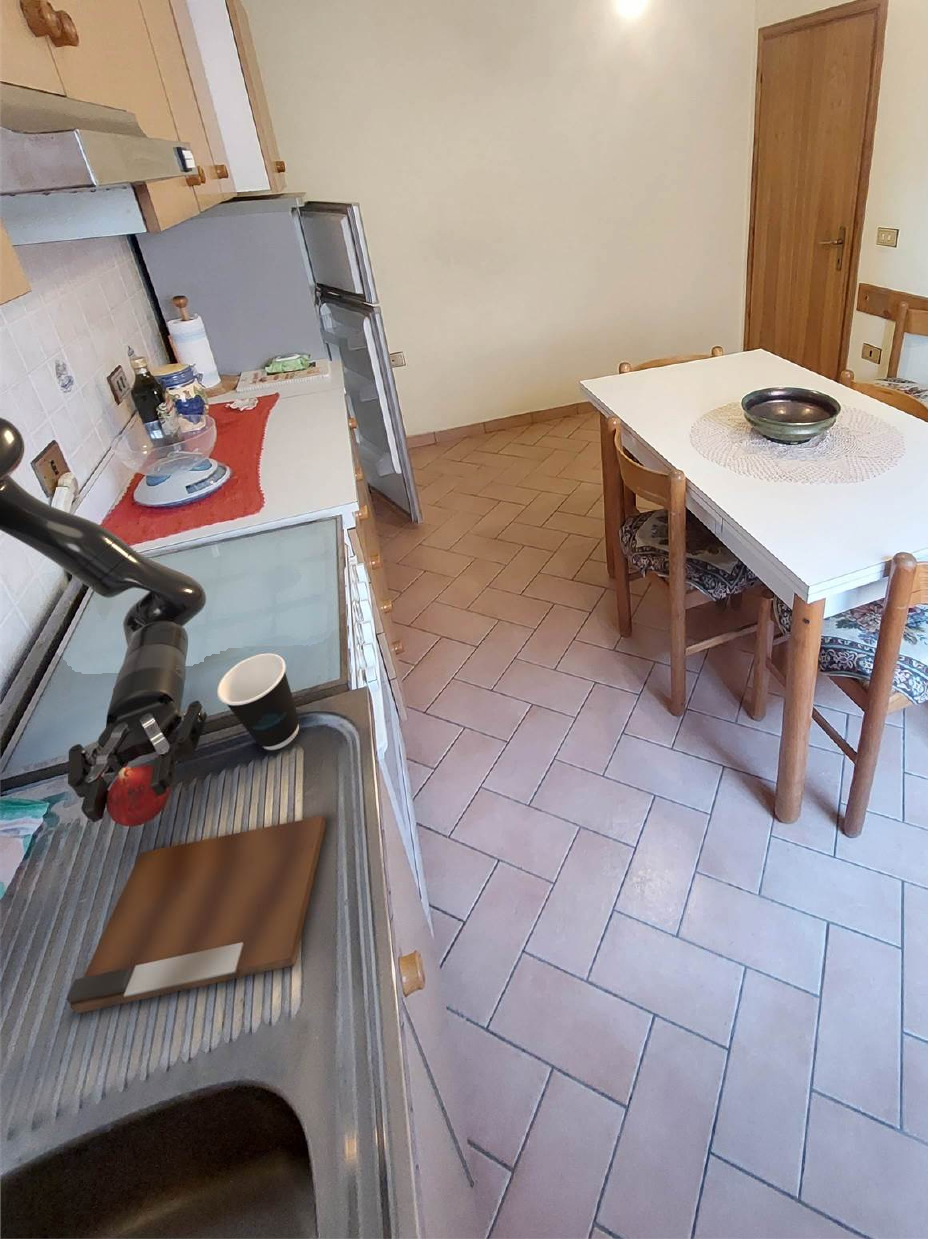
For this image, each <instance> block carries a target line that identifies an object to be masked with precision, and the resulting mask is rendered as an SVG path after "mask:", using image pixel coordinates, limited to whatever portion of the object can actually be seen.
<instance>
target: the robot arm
mask: <svg viewBox="0 0 928 1239" xmlns="http://www.w3.org/2000/svg"><path fill="white" fill-rule="evenodd" d="M24 455H25V441H24V438H23V436H22V433H21V431H20V430H19V428H17V427H16V425H14V424H13V422H11V421H9V420H7V419H5V418H3V417H0V531H1V532H4V534H7V535H9V536H11V537H13V538H14V539H15V540H18V541H20V542H21V543H23V544H25V545H27V546H28V547H29V548H32V549H34V550H35V551H37V552H39V553H40V554H42V555H43V556H45V557H46V558H48V559H49V560H51V561H53V562H54V563H55V564H57V565H58V566H60V567H61V568H62V569H63V570H65V571H66V572H67V573H69V574H70V575H72V576H73V577H74V578H76V579H77V580H79V581H80V582H81V583H82V584H84V585H85V586H86V587H88V588H90V589H91V590H92V591H94V592H95V593H96V594H98V595H99V596H101V597H103V598H106V599H112V598H115V597H117V596H119V595H122V594H123V593H125V592H127V591H129V590H132V589H140V590H144V591H147V593H146V594H145V595H144V596H142V597H141V598H140V599H139V600H138V601H136V603H134V604H133V605H132V606H131V607H130V608H129V610H128V611H127V613H126V615H125V617H124V619H123V624H122V628H123V632H124V636H125V642H126V645H127V648H126V652H125V655H124V660H123V663H122V665H121V667H120V669H119V672H118V674H117V677H116V680H115V684H114V686H113V689H112V695H111V699H110V702H109V705H108V709H107V713H106V720H105V721H106V722H105V724H106V725H105V728H104V730H103V731H102V733H101V734H100V735H99V736H98V739H97V740H96V741H94V742H92V743H89V744H87V745H86V746H84V747H83V746H82V744H81V743H78V744H75V745H73V746H72V747H71V748H70V749H69V750H68V760H67V761H68V763H67V764H68V766H67V784H68V786H69V787H70V788H72V789H73V791H74V792H75V794H76V796H77V797H78V798H80V799H81V798H83V800H82V804H81V811H82V813H83V814H84V816H85V817H86V818H87V819H88V820H91V822H92V823H96V822H99V821H101V820H103V818H104V815H105V810H106V808H107V807H106V801H107V794H108V792H109V789H110V787H111V786H112V784H113V783H114V781H115V780H116V778H117V777H118V776H119V774H118V773H119V772H120V771H121V769H122V768H124V767H128V765H129V763H130V762H132V761H135V760H137V759H138V758H141V757H143V756H149V755H151V754H154V753H157V755H158V756H156V757H154V762H153V766H154V767H153V773H152V779H151V787H152V789H153V790H154V792H155V793H156V795H157V796H160V795H162V794H165V793H166V791H167V787H169V786H170V787H171V785H172V784H173V782H174V774H175V769H176V765H177V763H178V762H179V759H180V758H183V757H184V756H185V757H189V756H191V755H193V754H194V753H195V752H196V749H197V746H198V745H199V741H200V738H201V735H202V733H203V729H204V727H205V724H206V721H207V718H208V714H207V712H206V710H205V709H204V708H205V707H204V706H203V705H202V704H201V702H200V700H193V701H192V702H191V703H190V704H189V705H188V707H186V708H183V709H182V704H183V697H184V691H185V683H186V677H187V676H186V675H187V666H186V663H187V656H188V649H189V636H188V632H187V631H186V629H185V627H184V626H185V625H187V623H189V622H191V620H193V618H195V617H196V616H197V615H198V614H199V613H200V612H202V611H203V609H204V608H205V606H206V604H207V595H206V591H205V589H204V588H203V586H202V585H201V584H200V583H199V582H198V581H197V579H194V578H193V577H191V576H189V575H187V574H186V573H183V572H180V571H179V570H175V569H173V568H170V567H167V566H165V565H163V564H160V563H159V562H156V561H154V560H151V559H150V558H147V557H146V556H143V555H142V554H140V553H139V552H137V550H134V548H132V546H130V545H128V543H126V542H125V541H123V539H121V538H120V537H118V536H117V535H116V534H115V533H113V532H111V531H110V530H109V529H107V528H105V527H104V526H102V525H101V524H98V523H97V522H94V521H92V520H89V519H87V518H84V517H81V516H78V515H77V514H73V513H70V512H68V511H64V510H62V509H59V508H56V507H54V506H52V505H50V504H47V503H45V502H44V501H42V500H40V499H38V498H36V497H35V496H34V495H33V494H30V493H29V492H28V491H26V490H25V489H24V488H23V487H22V486H21V485H19V484H18V483H17V481H15V480H14V479H13V478H12V476H11V475H13V473H14V472H15V471H16V470H17V469H18V467H19V466H20V465H21V463H22V461H23V458H24ZM179 725H180V728H179V731H178V733H177V736H176V739H175V741H174V742H173V743H171V744H170V742H169V740H168V739H169V738H170V737H171V735H172V734H173V733H174V732H175V731H176V729H177V728H178V727H179ZM92 766H93V768H92Z"/></svg>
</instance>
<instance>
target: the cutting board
mask: <svg viewBox="0 0 928 1239" xmlns="http://www.w3.org/2000/svg"><path fill="white" fill-rule="evenodd" d="M326 824H327V823H326V820H325V818H324V817H323V815H320V816H315V817H310V818H305V819H300V820H295V821H290V822H285V823H280V824H275V825H269V826H265V827H260V828H256V829H251V830H246V831H239V832H235V833H231V834H226V835H221V836H220V835H219V836H216V837H211V838H206V839H201V840H195V841H191V842H187V843H182V844H177V845H171V846H166V847H162V848H161V847H160V848H157V849H151V850H147V851H142V852H140V853H139V854H138V857H137V859H136V861H135V864H134V866H133V867H132V870H131V872H130V875H129V877H128V878H127V881H126V883H125V884H124V887H123V890H122V892H121V893H120V896H119V898H118V900H117V903H116V904H115V907H114V909H113V911H112V913H111V915H110V917H109V920H108V922H107V925H106V927H105V928H104V931H103V933H102V935H101V937H100V940H99V942H98V944H97V946H96V949H95V951H94V953H93V955H92V957H91V960H90V962H89V964H88V966H87V968H86V971H85V973H84V975H83V976H82V977H79V978H75V979H74V981H73V983H72V985H71V988H70V990H69V992H68V994H67V996H66V999H65V1000H66V1001H67V1003H69V1004H70V1005H69V1008H70V1009H71V1010H72V1011H73V1012H74V1013H75V1014H77V1015H80V1014H84V1013H87V1012H92V1011H97V1010H100V1009H105V1008H109V1007H114V1006H119V1005H123V1004H128V1003H132V1002H133V1003H134V1002H136V1001H141V1000H146V999H150V998H154V997H160V996H164V995H168V994H172V993H173V994H174V993H177V992H182V991H186V990H190V989H196V988H199V987H203V986H209V985H212V984H218V983H223V982H227V981H231V980H235V979H239V978H244V977H249V976H253V975H258V974H263V973H266V972H270V971H275V970H276V971H277V970H280V969H285V968H289V967H294V966H295V965H296V961H297V957H298V953H299V948H300V943H301V938H302V934H303V930H304V925H305V920H306V916H307V911H308V907H309V904H310V903H309V902H310V898H311V892H312V888H313V883H314V880H315V875H316V871H317V865H318V861H319V858H320V852H321V847H322V842H323V838H324V833H325V831H326V830H325V829H326Z"/></svg>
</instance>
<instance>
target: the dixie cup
mask: <svg viewBox="0 0 928 1239" xmlns="http://www.w3.org/2000/svg"><path fill="white" fill-rule="evenodd" d="M287 676H288V675H287V673H286V662H285V660H284V659H283V658H282V657H281V656H280V655H278V654H275V653H260V654H256V655H253V656H250V657H247V658H246V659H243V660H242V661H239V662H238V663H236V664H235V665H234V666H233V667H231V668H230V669H229V670H228V671H227V672H225V674H224V675H223V677H222V678H221V679H220V681H219V683H218V686H217V691H216V692H217V698H218V700H219V701H220V702H222V703H223V704H225V705H226V706H227V707H228V709H229V710H230V711H231V712H232V713H233V714H234V716H235V717H236V718H237V719H238V721H239V722H240V723H241V724H242V726H243V727H244V728H245V730H246V731H247V732H248V733H249V735H250V736H251V737H252V739H253V740H254V741H255V742H256V744H257V745H259V746H260V747H262V748H264V749H265V750H267V751H276V750H278V749H281V748H284V747H286V746H287V745H289V744H290V743H291V742H292V741H293V740H294V739H295V738H296V737H297V735H298V733H299V730H300V725H299V723H300V719H299V715H298V711H297V708H296V705H295V701H294V698H293V694H292V691H291V687H290V684H289V679H288V677H287Z"/></svg>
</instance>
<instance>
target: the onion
mask: <svg viewBox="0 0 928 1239" xmlns="http://www.w3.org/2000/svg"><path fill="white" fill-rule="evenodd" d="M153 767H154V765H139V766H135V767H131V766H126V767H124V768H122V769H121V771H120V772H119V773H118V774H119V776H117V777H116V778H115V779H114V780H113V782H112V783H111V785H110V787H109V789H108V791H109V792H108V794H107V801H106V807H105V808H106V811H107V813H108V816H110V818H111V820H112V821H113V822H114V823H116V824H117V825H121V826H124V827H130V828H131V827H138V826H141V825H144V824H147V823H149V822H151V821H152V820H153V819H155V818H156V817H157V816H158V815H159V814H160V813H161V812H162V811H163V809H164V807H165V806H166V805H167V803H168V801H169V797H170V794H171V791H172V788H171V786H169V787H167V791H166V793H165V794H162V795H160V796H157V795H156V793H155V792H154V790H153V789H152V787H151V779H152V773H153Z"/></svg>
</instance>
